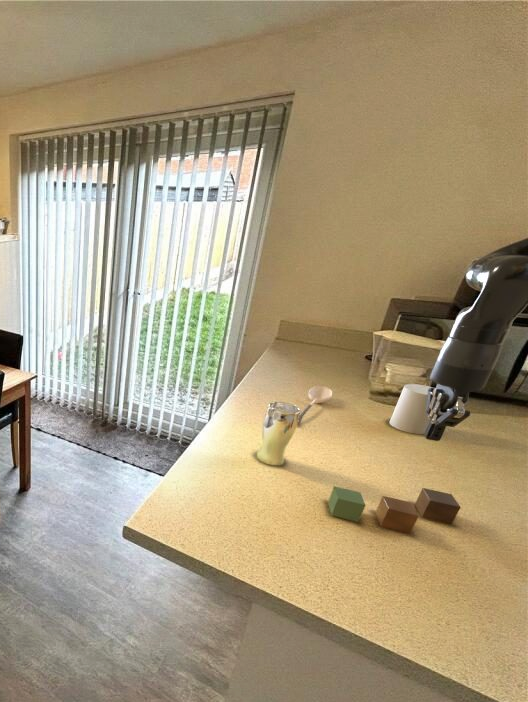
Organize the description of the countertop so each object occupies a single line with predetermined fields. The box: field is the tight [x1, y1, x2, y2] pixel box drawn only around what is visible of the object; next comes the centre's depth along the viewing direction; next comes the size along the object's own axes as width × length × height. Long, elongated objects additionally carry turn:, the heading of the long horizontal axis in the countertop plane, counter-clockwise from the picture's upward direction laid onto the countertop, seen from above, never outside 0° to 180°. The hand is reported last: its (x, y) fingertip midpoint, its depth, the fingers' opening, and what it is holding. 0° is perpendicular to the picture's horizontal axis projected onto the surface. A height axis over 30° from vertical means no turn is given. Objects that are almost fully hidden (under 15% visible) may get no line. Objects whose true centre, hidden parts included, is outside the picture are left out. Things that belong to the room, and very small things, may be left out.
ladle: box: [297, 385, 333, 426], centre depth 125 cm, size 6×28×5 cm, turn 131°
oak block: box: [375, 495, 419, 534], centre depth 79 cm, size 4×4×4 cm
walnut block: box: [414, 487, 462, 525], centre depth 81 cm, size 4×4×4 cm
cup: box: [389, 383, 434, 435], centre depth 112 cm, size 8×8×12 cm
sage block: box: [327, 485, 366, 523], centre depth 82 cm, size 4×4×4 cm
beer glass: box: [256, 401, 301, 466], centre depth 98 cm, size 7×7×15 cm
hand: (431, 438), depth 82 cm, fingers closed
